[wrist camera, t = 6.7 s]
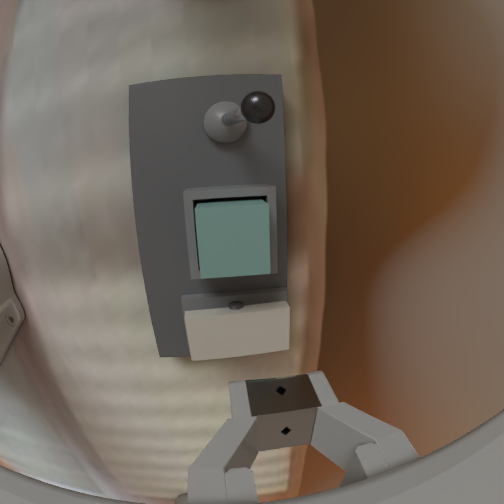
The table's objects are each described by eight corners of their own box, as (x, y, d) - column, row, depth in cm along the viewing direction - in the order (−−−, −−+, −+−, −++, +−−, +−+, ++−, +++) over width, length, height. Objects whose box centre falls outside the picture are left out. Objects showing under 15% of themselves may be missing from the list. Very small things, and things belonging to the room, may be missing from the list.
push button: (263, 259, 22) (270, 273, 19) (202, 263, 21) (200, 278, 18) (261, 199, 20) (268, 204, 18) (198, 202, 20) (194, 208, 17)
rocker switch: (283, 340, 25) (289, 351, 23) (192, 350, 24) (192, 362, 22) (283, 295, 24) (289, 304, 22) (184, 305, 23) (184, 316, 21)
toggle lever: (238, 133, 20) (282, 122, 15) (213, 134, 20) (250, 120, 14) (237, 108, 20) (281, 89, 15) (212, 107, 19) (249, 85, 14)
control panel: (280, 332, 30) (293, 367, 24) (164, 340, 29) (155, 376, 23) (274, 84, 23) (290, 63, 17) (138, 93, 22) (117, 75, 16)
